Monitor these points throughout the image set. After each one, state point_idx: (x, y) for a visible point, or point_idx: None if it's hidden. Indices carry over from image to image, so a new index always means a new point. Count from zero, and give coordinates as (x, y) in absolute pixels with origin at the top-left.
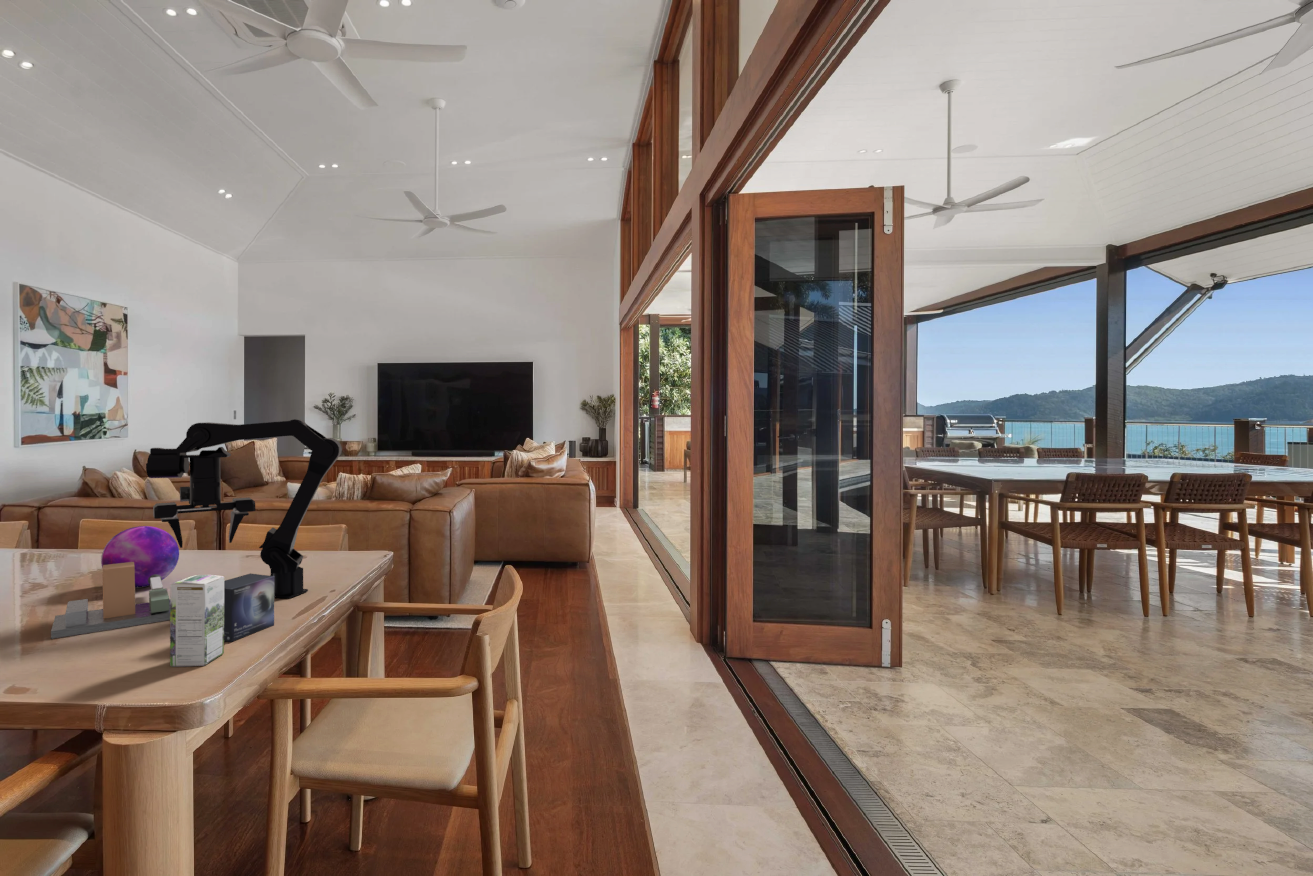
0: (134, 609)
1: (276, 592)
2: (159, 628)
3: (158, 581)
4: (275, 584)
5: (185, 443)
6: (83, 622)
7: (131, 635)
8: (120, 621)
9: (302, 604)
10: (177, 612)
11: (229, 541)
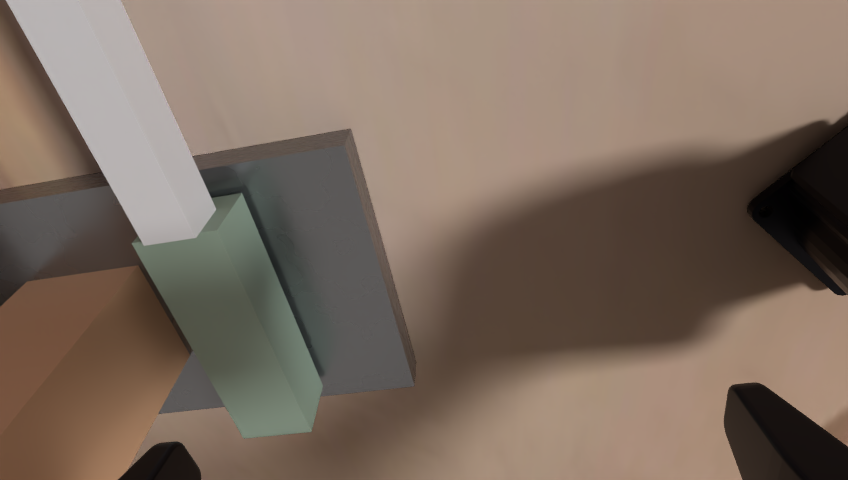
0: (178, 371)
1: (808, 254)
2: (327, 439)
3: (66, 17)
4: (835, 277)
5: None
6: None
7: (262, 465)
8: (177, 409)
9: (837, 387)
10: None
11: (731, 445)
